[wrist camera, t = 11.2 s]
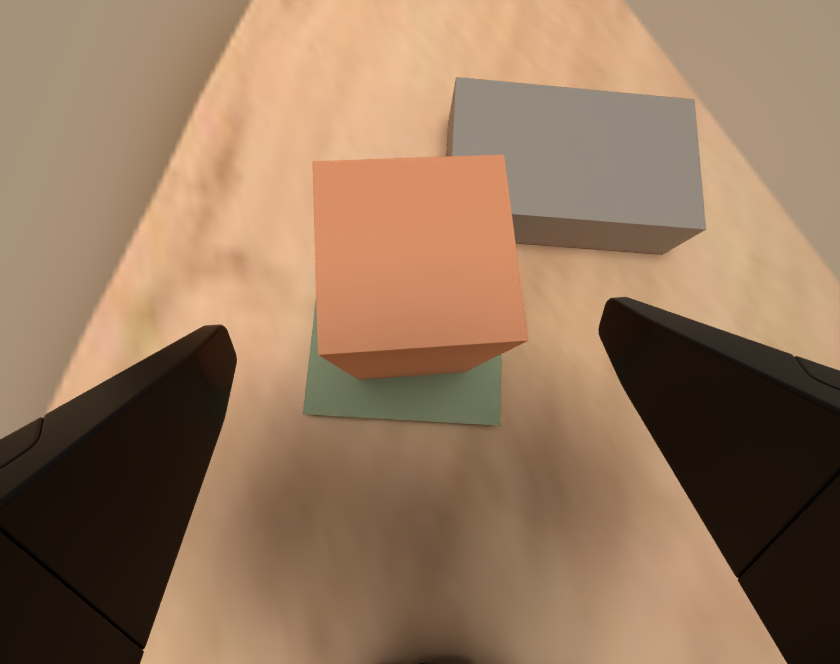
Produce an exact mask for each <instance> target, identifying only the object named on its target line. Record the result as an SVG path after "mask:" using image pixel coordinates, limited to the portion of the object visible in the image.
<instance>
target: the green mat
mask: <svg viewBox="0 0 840 664" xmlns="http://www.w3.org/2000/svg"><path fill="white" fill-rule="evenodd" d="M500 408H501V354H500V355H498V356H496V357H495V358H493V359H491V360H489V361H487V362H485V363H483V364H481V365H479V366H477V367H475V368H473V369H471V370H469V371H467V372H460V373H447V374H433V375H419V376H405V377H392V378H378V379H364V380H358V379H356V378H355V377H353V376H352V375H350V374H348V373H347V372H345V371H343V370H342V369H340V368H339V367H337V366H335V365H334V364H332V363H330V362H329V361H327V360H326V359H324V358H322V357H321V356H319V355H318V336H317V301H316V304H315V313H314V321H313V330H312V339H311V348H310V357H309V366H308V374H307V383H306V392H305V401H304V410H303V414H308V415H325V416H342V417H360V418H377V419H394V420H412V421H429V422H446V423H463V424H481V425H498V426H500Z"/></svg>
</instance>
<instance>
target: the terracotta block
mask: <svg viewBox="0 0 840 664" xmlns="http://www.w3.org/2000/svg"><path fill="white" fill-rule="evenodd" d="M313 193H314V229H315V265H316V301H317V336H318V355H319V356H321V357H322V358H324V359H326V360H327V361H329V362H330V363H332V364H334V365H335V366H337V367H339V368H340V369H342V370H343V371H345V372H347V373H348V374H350V375H352V376H353V377H355V378H356V379H358V380H364V379H378V378H392V377H405V376H419V375H433V374H447V373H460V372H467V371H469V370H471V369H473V368H475V367H477V366H479V365H481V364H483V363H485V362H487V361H489V360H491V359H493V358H495V357H496V356H498V355H500V354H502V353H504V352H506V351H508V350H510V349H512V348H514V347H516V346H518V345H520V344H522V343H524V342H526V341H528V335H527V327H526V320H525V312H524V304H523V296H522V289H521V281H520V273H519V266H518V258H517V250H516V242H515V235H514V227H513V219H512V212H511V204H510V196H509V188H508V181H507V173H506V165H505V158H504V155H478V156H450V157H423V158H395V159H368V160H340V161H313Z"/></svg>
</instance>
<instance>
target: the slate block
mask: <svg viewBox="0 0 840 664" xmlns="http://www.w3.org/2000/svg"><path fill="white" fill-rule="evenodd" d="M478 155H504V158H505V165H506V173H507V181H508V188H509V196H510V204H511V212H512V219H513V227H514V235H515V242H516V243H522V244H535V245H548V246H561V247H574V248H587V249H600V250H614V251H627V252H640V253H653V254H664V253H666V252H668V251H669V250H671V249H673V248H675V247H676V246H678V245H680V244H682V243H683V242H685V241H687V240H689V239H690V238H692V237H694V236H696V235H697V234H699V233H701V232H703V231H704V230H706V223H705V212H704V201H703V190H702V178H701V167H700V156H699V145H698V134H697V123H696V111H695V100H694V99H685V98H674V97H664V96H653V95H642V94H631V93H621V92H610V91H599V90H589V89H578V88H567V87H557V86H546V85H535V84H525V83H514V82H503V81H492V80H482V79H471V78H460V77H456V81H455V87H454V92H453V98H452V104H451V110H450V116H449V122H448V141H447V157H450V156H478Z"/></svg>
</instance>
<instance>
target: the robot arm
mask: <svg viewBox="0 0 840 664" xmlns="http://www.w3.org/2000/svg"><path fill="white" fill-rule="evenodd" d="M599 336H600V339H601V341H602V343H603V345H604V348H605V350H606V352H607V354H608V356H609V359H610V361H611V363H612V365H613V367H614V370H615V372H616V374H617V376H618V378H619V381H620V383H621V385H622V387H623V388H624V390H625V392H626V394H627V395H628V397H629V399H630V400H631V402H632V404H633V405H634V407H635V409H636V411H637V412H638V414H639V416H640V417H641V419H642V421H643V422H644V424H645V426H646V427H647V429H648V431H649V432H650V434H651V436H652V437H653V439H654V441H655V442H656V444H657V446H658V447H659V449H660V451H661V452H662V454H663V456H664V457H665V459H666V461H667V462H668V464H669V466H670V467H671V469H672V471H673V472H674V474H675V476H676V477H677V479H678V481H679V482H680V484H681V486H682V488H683V489H684V491H685V493H686V494H687V496H688V498H689V499H690V501H691V503H692V504H693V506H694V508H695V509H696V511H697V513H698V514H699V516H700V518H701V519H702V521H703V523H704V524H705V526H706V528H707V529H708V531H709V533H710V534H711V536H712V538H713V539H714V541H715V543H716V544H717V546H718V548H719V549H720V551H721V553H722V554H723V556H724V558H725V560H726V561H727V563H728V565H729V566H730V568H731V570H732V571H733V573H734V575H735V576H736V577H737V578H738V582H739V583H740V585H741V587H742V588H743V590H744V592H745V593H746V595H747V597H748V599H749V600H750V602H751V604H752V605H753V607H754V609H755V610H756V612H757V614H758V615H759V617H760V619H761V620H762V622H763V624H764V625H765V627H766V629H767V630H768V632H769V634H770V635H771V637H772V639H773V640H774V642H775V644H776V645H777V647H778V649H779V650H780V652H781V654H782V656H783V657H784V659H785V661H786V662H787V664H840V371H839V370H836V369H833V368H830V367H827V366H824V365H821V364H818V363H816V362H813V361H810V360H807V359H804V358H801V357H798V356H795V357H794V356H793V355H792V354H789V353H787V352H784V351H781V350H778V349H775V348H772V347H769V346H766V345H763V344H761V343H758V342H755V341H752V340H749V339H746V338H743V337H740V336H738V335H735V334H732V333H729V332H726V331H723V330H720V329H717V328H714V327H712V326H709V325H706V324H703V323H700V322H697V321H694V320H691V319H689V318H686V317H683V316H680V315H677V314H674V313H671V312H668V311H665V310H663V309H660V308H657V307H654V306H651V305H648V304H645V303H642V302H640V301H637V300H634V299H631V298H628V297H618V298H610V299H609V300H607V302H606V304H605V307H604V311H603V314H602V317H601V321H600V324H599ZM236 363H237V357H236V353H235V350H234V347H233V344H232V342H231V339H230V336H229V333H228V331H227V329H226V328H225V326H223V325H206V326H203V327H201V328H199V329H197V330H195V331H194V332H192V333H190V334H188V335H187V336H185V337H183V338H181V339H179V340H178V341H176V342H174V343H172V344H170V345H169V346H167V347H165V348H163V349H162V350H160V351H158V352H156V353H154V354H153V355H151V356H149V357H147V358H145V359H144V360H142V361H140V362H138V363H137V364H135V365H133V366H131V367H129V368H128V369H126V370H124V371H122V372H120V373H119V374H117V375H115V376H113V377H112V378H110V379H108V380H106V381H104V382H103V383H101V384H99V385H97V386H95V387H94V388H92V389H90V390H88V391H87V392H85V393H83V394H81V395H79V396H78V397H76V398H74V399H72V400H70V401H69V402H67V403H65V404H63V405H62V406H60V407H58V408H56V409H54V410H53V411H51V412H49V413H47V414H46V415H45V416H44V418H42V417H41V418H38V419H36V420H35V421H33V422H31V423H29V424H28V425H26V426H24V427H22V428H20V429H19V430H17V431H15V432H13V433H11V434H10V435H8V436H6V437H4V438H2V439H0V664H140V662H141V659H142V656H143V653H144V651H143V649H144V648H145V647H146V644H147V641H148V638H149V635H150V632H151V629H152V626H153V624H154V621H155V618H156V615H157V612H158V609H159V606H160V603H161V601H162V598H163V595H164V592H165V589H166V586H167V583H168V581H169V578H170V575H171V572H172V569H173V566H174V563H175V560H176V558H177V555H178V552H179V549H180V546H181V543H182V540H183V537H184V535H185V532H186V529H187V526H188V523H189V520H190V517H191V515H192V512H193V509H194V506H195V503H196V500H197V497H198V494H199V492H200V489H201V486H202V483H203V480H204V477H205V474H206V471H207V469H208V466H209V463H210V460H211V457H212V454H213V451H214V449H215V446H216V443H217V440H218V437H219V434H220V431H221V428H222V425H223V422H224V419H225V415H226V411H227V406H228V401H229V397H230V392H231V387H232V383H233V378H234V373H235V368H236ZM420 664H424V663H420Z"/></svg>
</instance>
